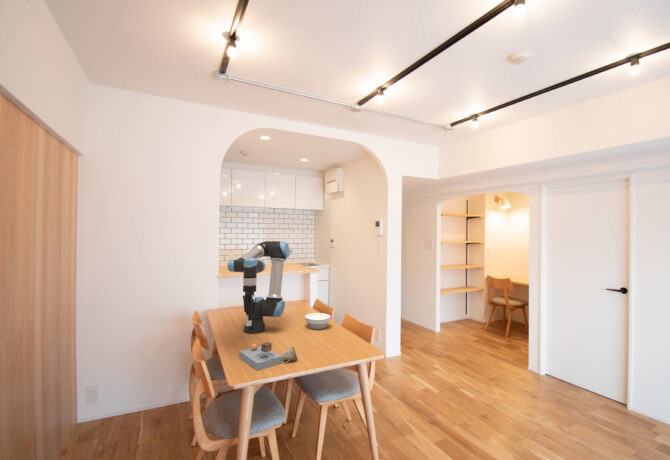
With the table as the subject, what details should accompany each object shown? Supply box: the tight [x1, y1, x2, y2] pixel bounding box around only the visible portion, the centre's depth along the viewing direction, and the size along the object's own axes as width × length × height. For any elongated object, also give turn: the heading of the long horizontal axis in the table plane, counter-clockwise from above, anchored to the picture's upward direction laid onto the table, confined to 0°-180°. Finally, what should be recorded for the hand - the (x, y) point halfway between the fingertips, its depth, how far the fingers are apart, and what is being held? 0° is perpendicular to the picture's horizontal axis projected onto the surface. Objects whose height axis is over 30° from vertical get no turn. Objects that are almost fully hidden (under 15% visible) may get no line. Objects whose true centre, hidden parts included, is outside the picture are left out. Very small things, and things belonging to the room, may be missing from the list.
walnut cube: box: [260, 341, 273, 352], centre depth 174 cm, size 4×4×4 cm
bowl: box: [304, 312, 332, 330], centre depth 230 cm, size 19×20×8 cm
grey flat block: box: [238, 345, 282, 371], centre depth 169 cm, size 21×14×4 cm, turn 42°
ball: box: [250, 343, 258, 350], centre depth 174 cm, size 4×4×4 cm
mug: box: [279, 346, 298, 365], centre depth 169 cm, size 8×10×10 cm
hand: (248, 325), depth 179 cm, fingers closed
